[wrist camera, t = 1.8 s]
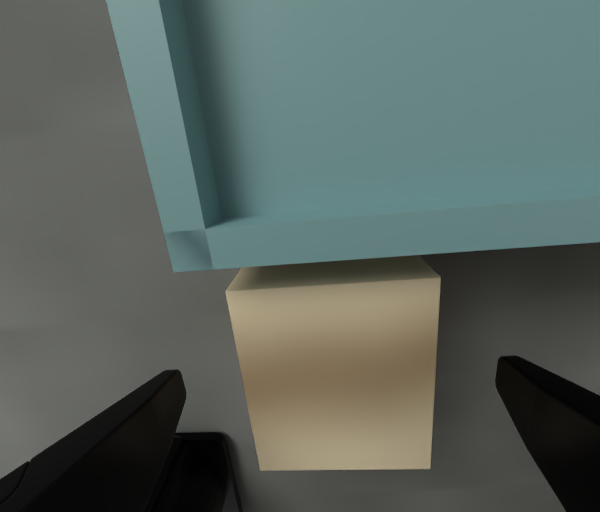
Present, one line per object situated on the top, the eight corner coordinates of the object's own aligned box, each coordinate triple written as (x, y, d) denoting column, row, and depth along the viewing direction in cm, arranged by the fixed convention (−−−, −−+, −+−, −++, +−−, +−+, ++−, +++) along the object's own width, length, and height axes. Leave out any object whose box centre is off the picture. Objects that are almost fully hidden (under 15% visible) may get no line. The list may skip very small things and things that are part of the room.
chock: (391, 357, 13) (430, 469, 9) (280, 362, 14) (260, 470, 9) (390, 226, 12) (440, 277, 7) (262, 236, 12) (225, 291, 7)
